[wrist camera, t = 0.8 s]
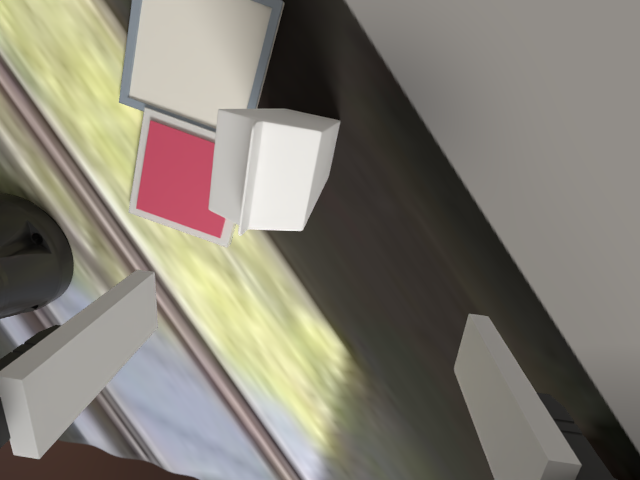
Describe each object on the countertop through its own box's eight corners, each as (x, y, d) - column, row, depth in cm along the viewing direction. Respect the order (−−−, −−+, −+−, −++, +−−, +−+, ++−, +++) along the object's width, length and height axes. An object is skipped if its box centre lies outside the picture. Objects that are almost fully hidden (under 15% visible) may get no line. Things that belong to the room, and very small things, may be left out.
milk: (340, 120, 38) (319, 133, 17) (328, 178, 40) (296, 251, 19) (282, 107, 38) (193, 106, 18) (273, 165, 40) (184, 226, 20)
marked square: (123, 102, 40) (118, 102, 39) (143, -49, 35) (138, -52, 34) (247, 147, 40) (244, 147, 39) (284, 3, 35) (282, 1, 34)
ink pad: (134, 209, 44) (126, 213, 42) (150, 107, 40) (142, 107, 38) (230, 244, 44) (226, 248, 42) (257, 145, 40) (253, 147, 38)
